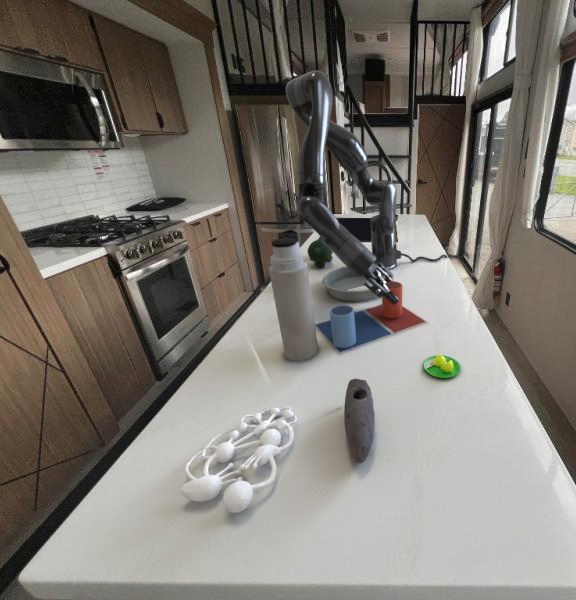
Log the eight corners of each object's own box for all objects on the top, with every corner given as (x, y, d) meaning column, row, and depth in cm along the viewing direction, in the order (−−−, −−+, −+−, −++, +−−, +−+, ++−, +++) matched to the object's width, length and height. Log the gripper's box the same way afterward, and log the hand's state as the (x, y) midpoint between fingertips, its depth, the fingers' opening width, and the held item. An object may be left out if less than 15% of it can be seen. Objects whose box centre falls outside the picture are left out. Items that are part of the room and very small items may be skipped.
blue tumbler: (349, 333, 86) (347, 302, 82) (360, 343, 81) (358, 311, 77) (329, 340, 83) (326, 308, 79) (339, 350, 79) (336, 318, 75)
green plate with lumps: (466, 367, 72) (468, 357, 71) (446, 385, 67) (447, 374, 66) (437, 353, 77) (438, 343, 76) (416, 368, 72) (416, 358, 71)
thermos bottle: (296, 340, 84) (279, 234, 72) (324, 345, 82) (310, 236, 69) (278, 358, 77) (255, 243, 65) (307, 364, 75) (289, 246, 63)
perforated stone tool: (376, 472, 50) (374, 440, 47) (342, 474, 50) (338, 442, 47) (374, 402, 63) (373, 374, 60) (347, 403, 63) (344, 375, 60)
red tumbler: (394, 307, 98) (394, 279, 94) (406, 314, 93) (406, 286, 90) (378, 312, 95) (377, 283, 91) (389, 320, 91) (389, 290, 87)
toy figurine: (317, 257, 151) (305, 272, 127) (313, 216, 144) (300, 223, 121) (338, 257, 151) (329, 272, 127) (335, 215, 144) (325, 222, 121)
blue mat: (362, 311, 98) (362, 310, 98) (391, 334, 85) (391, 333, 85) (315, 326, 91) (315, 324, 90) (340, 353, 78) (339, 352, 78)
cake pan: (337, 274, 127) (336, 263, 125) (399, 277, 122) (399, 266, 120) (312, 301, 105) (310, 288, 103) (386, 306, 100) (386, 293, 98)
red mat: (393, 302, 103) (393, 300, 103) (425, 322, 91) (425, 321, 91) (365, 310, 98) (365, 309, 98) (394, 333, 86) (394, 332, 86)
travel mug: (307, 283, 118) (300, 229, 110) (301, 291, 112) (293, 234, 104) (291, 283, 119) (282, 229, 110) (284, 290, 113) (274, 234, 104)
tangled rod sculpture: (251, 409, 64) (246, 392, 62) (317, 418, 60) (313, 400, 58) (167, 502, 47) (156, 482, 45) (251, 524, 43) (242, 503, 41)
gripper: (357, 254, 81) (404, 300, 84) (370, 239, 93) (410, 280, 97) (338, 273, 84) (384, 317, 87) (353, 256, 97) (393, 295, 100)
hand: (398, 297), depth 92 cm, fingers closed on red tumbler, 6 cm apart
